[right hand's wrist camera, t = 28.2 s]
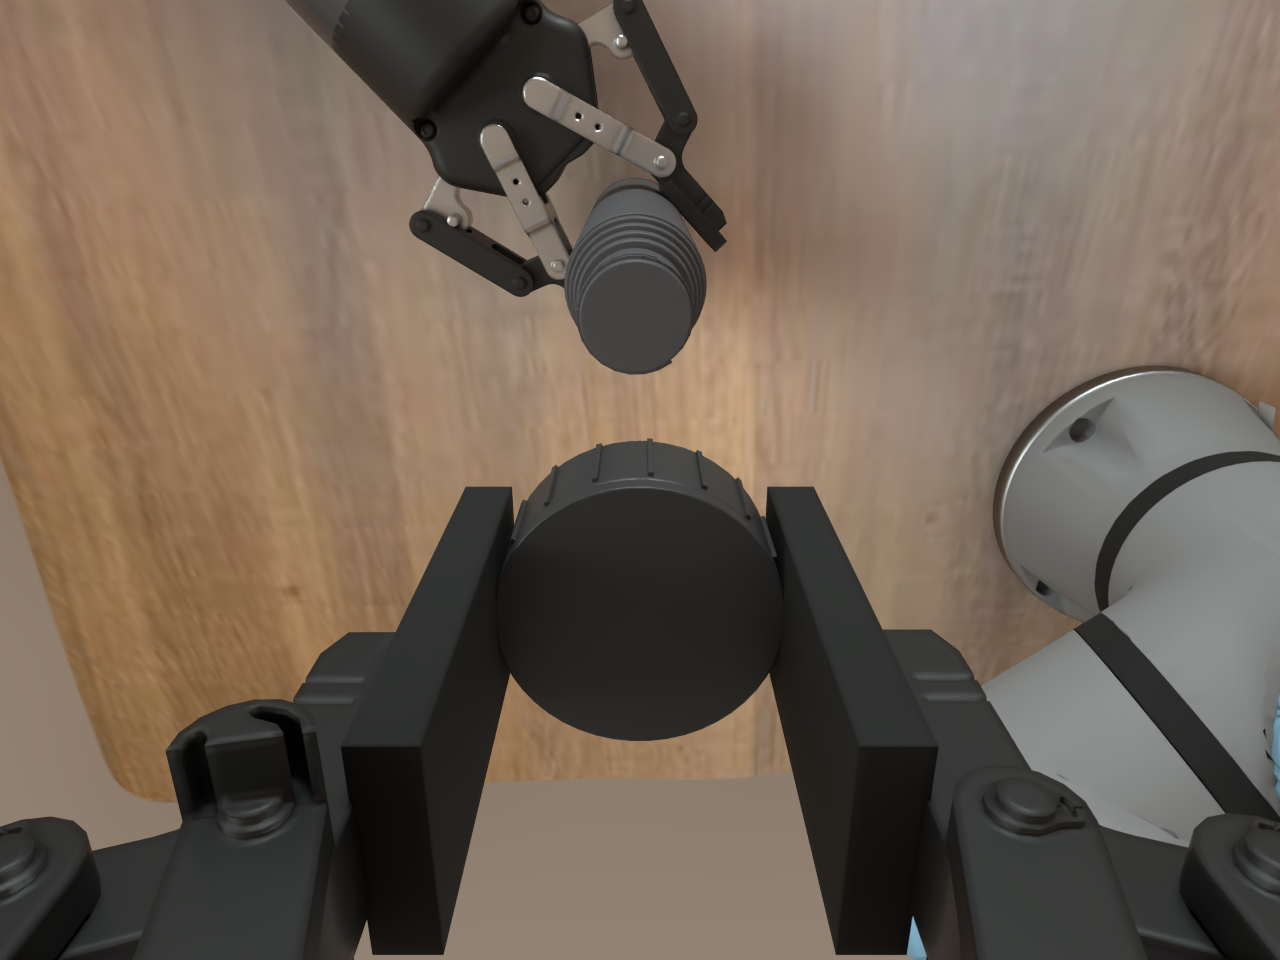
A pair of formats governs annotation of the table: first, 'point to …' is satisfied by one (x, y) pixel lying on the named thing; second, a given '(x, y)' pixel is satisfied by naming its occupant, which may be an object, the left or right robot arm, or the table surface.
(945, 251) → the table surface
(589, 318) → the bottle
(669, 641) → the cap
